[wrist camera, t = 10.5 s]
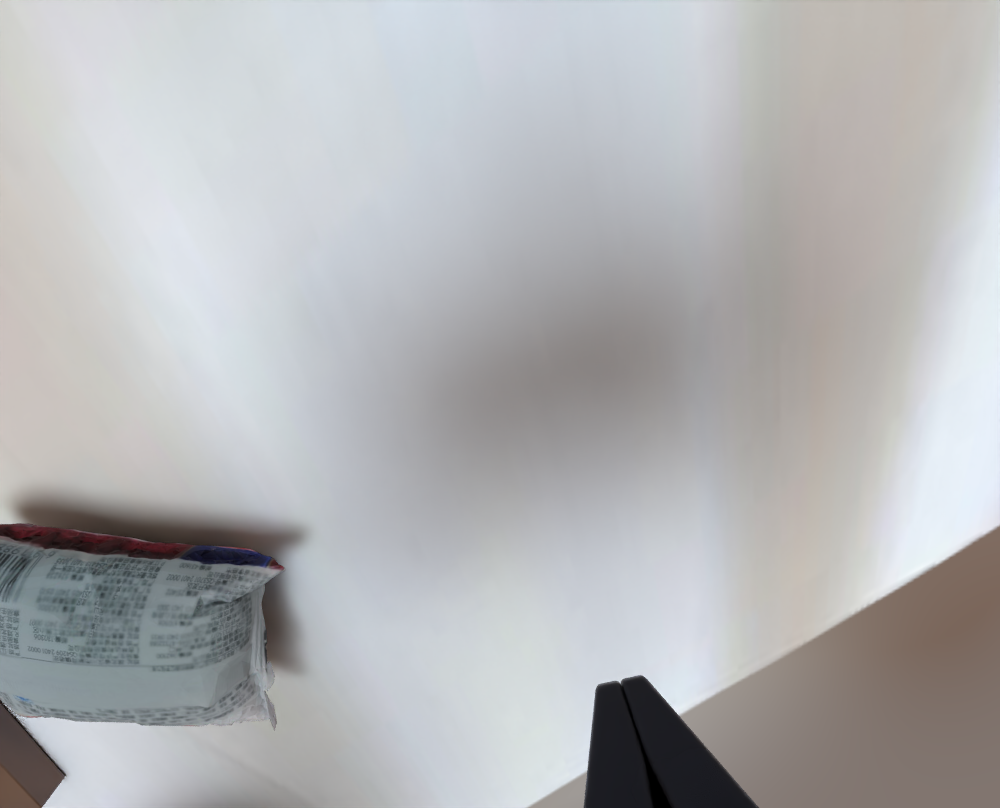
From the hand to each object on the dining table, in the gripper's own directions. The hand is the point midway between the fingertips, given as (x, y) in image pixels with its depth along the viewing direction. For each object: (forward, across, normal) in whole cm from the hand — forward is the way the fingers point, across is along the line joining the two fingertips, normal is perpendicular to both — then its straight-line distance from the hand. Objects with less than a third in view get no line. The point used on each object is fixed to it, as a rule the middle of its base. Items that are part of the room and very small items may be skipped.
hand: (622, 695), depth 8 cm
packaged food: (+12, +18, +4) cm, 22 cm away
